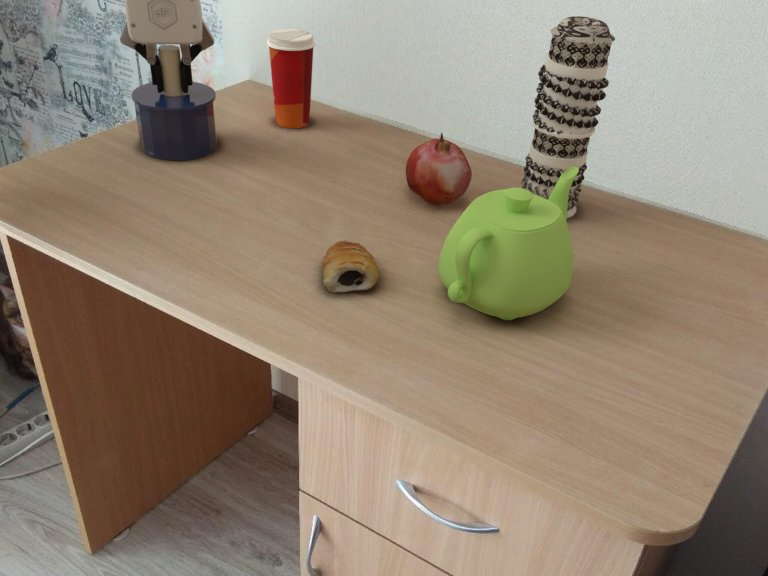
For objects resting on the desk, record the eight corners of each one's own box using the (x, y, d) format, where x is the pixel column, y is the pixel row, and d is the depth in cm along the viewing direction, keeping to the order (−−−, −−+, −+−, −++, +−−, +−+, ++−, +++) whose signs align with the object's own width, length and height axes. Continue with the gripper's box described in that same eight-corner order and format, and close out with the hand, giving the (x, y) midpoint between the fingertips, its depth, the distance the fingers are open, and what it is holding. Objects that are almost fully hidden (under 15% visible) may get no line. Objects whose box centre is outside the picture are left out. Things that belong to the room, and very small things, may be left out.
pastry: (319, 254, 98) (319, 227, 95) (372, 254, 99) (374, 227, 96) (323, 295, 91) (324, 266, 88) (380, 294, 92) (382, 266, 89)
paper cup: (296, 110, 136) (295, 25, 127) (324, 124, 131) (325, 37, 123) (259, 119, 131) (255, 31, 122) (287, 134, 127) (285, 44, 118)
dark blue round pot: (138, 160, 116) (130, 110, 111) (145, 131, 125) (138, 83, 120) (216, 160, 118) (211, 111, 113) (217, 131, 126) (213, 84, 121)
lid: (128, 115, 111) (119, 60, 106) (136, 86, 120) (129, 34, 116) (215, 116, 113) (210, 62, 108) (217, 87, 122) (213, 36, 117)
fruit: (417, 179, 117) (423, 112, 111) (476, 194, 114) (485, 127, 108) (391, 202, 110) (396, 133, 104) (453, 218, 108) (462, 149, 101)
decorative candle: (510, 213, 110) (543, 25, 94) (521, 187, 117) (553, 8, 101) (574, 226, 108) (619, 36, 92) (581, 199, 115) (624, 18, 99)
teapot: (510, 238, 104) (527, 143, 96) (607, 283, 97) (635, 184, 88) (399, 297, 91) (408, 193, 83) (501, 354, 84) (522, 246, 75)
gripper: (89, -46, 100) (113, 98, 112) (219, -42, 102) (229, 99, 114) (97, -58, 106) (119, 81, 117) (220, -53, 108) (229, 82, 120)
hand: (173, 88), depth 116 cm, fingers closed on lid, 3 cm apart
